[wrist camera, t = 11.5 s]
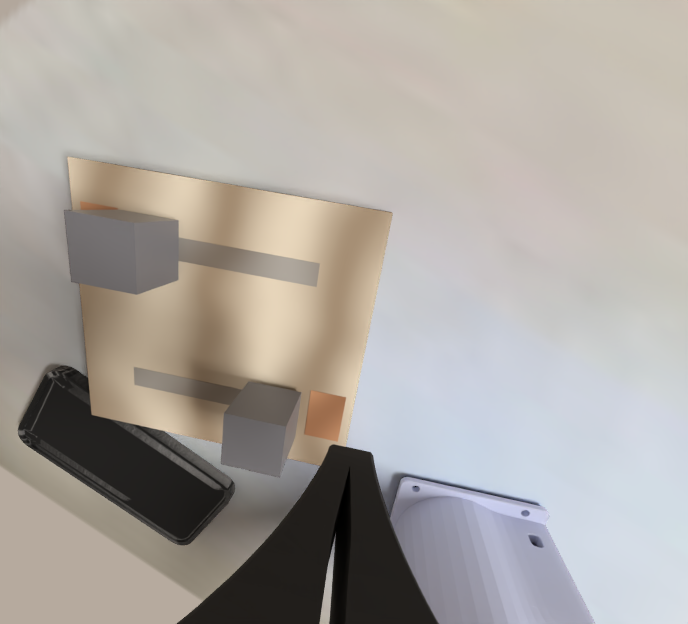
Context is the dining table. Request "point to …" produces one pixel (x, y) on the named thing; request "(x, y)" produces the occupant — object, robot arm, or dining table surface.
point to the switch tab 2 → (260, 428)
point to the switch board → (233, 306)
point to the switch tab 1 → (122, 249)
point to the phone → (124, 459)
